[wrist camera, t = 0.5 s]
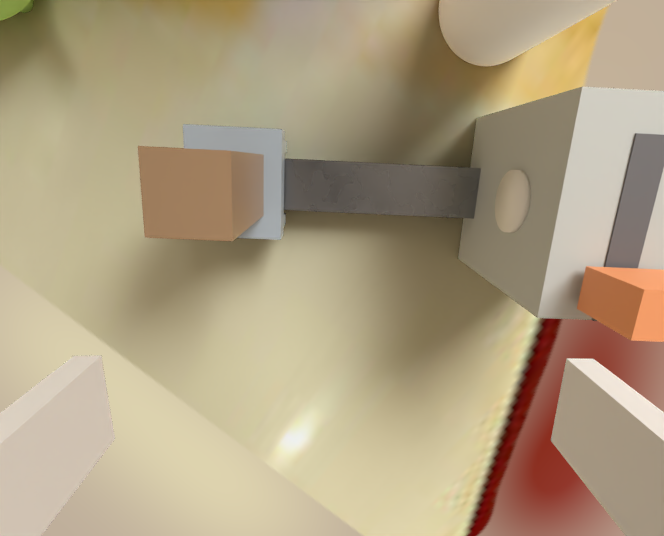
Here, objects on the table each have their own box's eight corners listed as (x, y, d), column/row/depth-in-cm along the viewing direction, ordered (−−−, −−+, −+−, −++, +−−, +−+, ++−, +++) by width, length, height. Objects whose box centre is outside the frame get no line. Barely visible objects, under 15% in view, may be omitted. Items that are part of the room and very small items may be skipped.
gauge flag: (585, 266, 21) (644, 289, 17) (667, 269, 21) (743, 293, 17) (576, 308, 22) (630, 340, 18) (655, 311, 22) (726, 344, 18)
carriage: (199, 128, 32) (106, 104, 18) (287, 132, 32) (258, 111, 18) (203, 227, 34) (121, 270, 20) (285, 231, 34) (258, 276, 20)
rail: (186, 153, 33) (175, 153, 31) (470, 167, 34) (481, 168, 31) (188, 202, 34) (178, 205, 32) (463, 214, 35) (473, 218, 32)
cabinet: (471, 117, 33) (575, 85, 19) (571, 123, 33) (745, 94, 19) (453, 258, 36) (531, 318, 22) (544, 262, 36) (677, 323, 22)
